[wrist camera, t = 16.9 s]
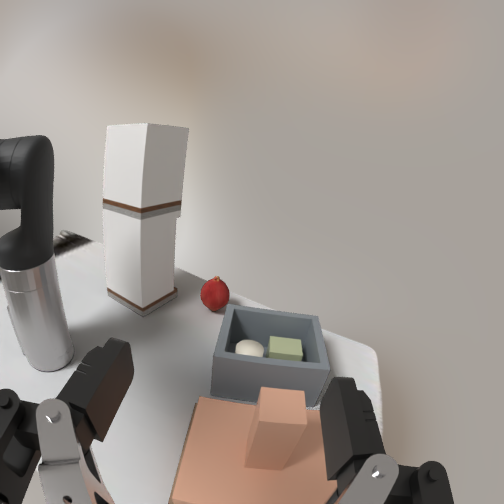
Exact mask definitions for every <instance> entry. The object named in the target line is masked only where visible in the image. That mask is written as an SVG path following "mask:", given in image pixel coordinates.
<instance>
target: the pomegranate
mask: <svg viewBox="0 0 504 504" xmlns="http://www.w3.org/2000/svg"><path fill="white" fill-rule="evenodd" d="M200 296H201V300H202V302H203V304H204V305H205V306H206V307H208V308H209V309H211V310H212V311H216V310H218V309H220V308H222V307H224V306H225V305H226V304H227V303H228V301H229V289H228V287H227V285H226V284H225V283H224V282H223V281H222V280H220V278H219V277H218V276H215V277H214V278H213V279H211V280H209V281H207V282H206V283H205V284H204V285H203V287H202V289H201V295H200Z"/></svg>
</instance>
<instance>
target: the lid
mask: <svg viewBox="0 0 504 504" xmlns="http://www.w3.org/2000/svg"><path fill="white" fill-rule="evenodd" d="M336 487H337V480H330V481H327V473H326V463H325V454H324V445H323V436H322V428H321V420H320V410H306V404H305V393H304V391H299V390H288V389H277V388H268V387H261V389H260V393H259V397H258V401H257V405H249V404H242V403H235V402H229V401H223V400H217V399H211V398H206V397H201V396H199V400H198V404H197V407H196V411H195V414H194V418H193V422H192V425H191V429H190V432H189V436H188V440H187V443H186V447H185V451H184V454H183V458H182V462H181V465H180V469H179V473H178V477H177V480H176V484H175V488H174V492H173V495H172V500H173V503H174V504H324V502H325V501H326V500H327V499H328V497H329V496H330V495H331V493H332V492H333V491H334V489H335V488H336Z"/></svg>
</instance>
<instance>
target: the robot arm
mask: <svg viewBox="0 0 504 504" xmlns="http://www.w3.org/2000/svg"><path fill="white" fill-rule="evenodd" d="M53 181H54V153H53V147H52V144H51V142H50V140H49V139H48V138H47V137H46V136H42V135H36V136H27V137H18V138H12V139H0V210H6V209H21V225H20V226H19V227H18V228H16V229H14V230H13V231H10V232H8V233H7V234H5V235H4V236H2V237H1V238H0V275H1V279H2V283H3V287H4V291H5V295H6V299H7V302H8V307H7V309H8V313H9V316H10V319H11V322H12V325H13V328H14V331H15V333H16V336H17V339H18V342H19V344H20V347H21V349H22V352H23V354H24V355H26V357H27V359H28V362H29V363H30V365H31V366H33V367H34V368H35V369H37V370H40V371H55V370H58V369H60V368H62V367H64V366H65V365H67V364H68V363H69V362H70V360H71V359H72V357H73V354H74V348H73V344H72V340H71V337H70V333H69V329H68V325H67V321H66V316H65V312H64V307H63V303H62V298H61V293H60V288H59V282H58V276H57V270H56V263H55V256H54V247H53ZM133 376H134V366H133V360H132V354H131V348H130V344H129V343H128V342H125V341H122V340H118V339H115V338H110V339H109V340H108V341H107V343H106V344H105V346H104V347H103V348H102V347H99V346H97V347H96V348H94V349H93V350H91V351H90V352H88V353H87V355H86V356H85V357H84V359H83V360H82V363H80V364H79V366H78V367H77V370H76V371H74V373H73V374H72V376H71V377H70V379H69V380H68V382H67V383H66V385H65V386H64V387H63V389H62V390H61V392H60V393H59V395H58V396H57V397H56V398H55V399H47V400H45V401H43V402H41V403H40V404H37V403H32V402H27V401H22V400H20V399H19V397H18V395H17V394H16V393H15V392H14V391H13V390H11V389H1V390H0V504H22V501H23V498H24V496H25V493H26V491H27V488H28V486H29V483H30V481H31V478H32V475H33V473H34V471H35V469H36V466H37V464H38V462H39V460H40V457H41V455H42V464H39V466H38V471H39V476H40V480H41V485H42V488H43V492H44V496H45V500H46V503H47V504H115V503H114V501H113V499H112V497H111V496H110V494H109V492H108V491H107V489H106V487H105V485H104V482H103V480H102V477H101V475H100V472H99V469H98V466H97V463H96V460H95V457H94V454H93V451H92V448H91V443H92V441H93V439H96V440H99V441H101V442H103V440H104V438H105V436H106V434H107V432H108V430H109V427H110V425H111V423H112V421H113V419H114V417H115V415H116V413H117V411H118V409H119V407H120V404H121V402H122V400H123V398H124V396H125V394H126V392H127V390H128V388H129V386H130V384H131V382H132V380H133ZM373 411H374V410H373V406H372V403H371V400H370V399H369V397H368V396H367V395H366V393H365V392H364V391H363V390H357V387H356V384H355V381H354V379H353V378H348V377H334V378H333V379H332V381H331V383H330V385H329V387H328V389H327V391H326V393H325V395H324V397H323V399H322V401H321V404H320V420H321V428H322V436H323V445H324V454H325V463H326V473H327V481H330V480H337V487H336V488H335V489H334V491H333V492H332V493H331V495H330V496H329V497H328V499H327V500H326V501H325V502H324V504H454V501H453V497H452V492H451V488H450V484H449V480H448V476H447V473H446V470H445V468H444V467H443V466H442V465H441V464H440V463H438V462H435V461H428V462H426V463H424V464H423V465H421V466H420V467H410V466H403V465H398V464H397V462H396V461H395V460H394V459H393V458H392V457H390V456H388V455H386V453H385V450H384V446H383V442H382V438H381V435H380V431H379V427H378V424H377V421H376V417H375V413H373Z"/></svg>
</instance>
